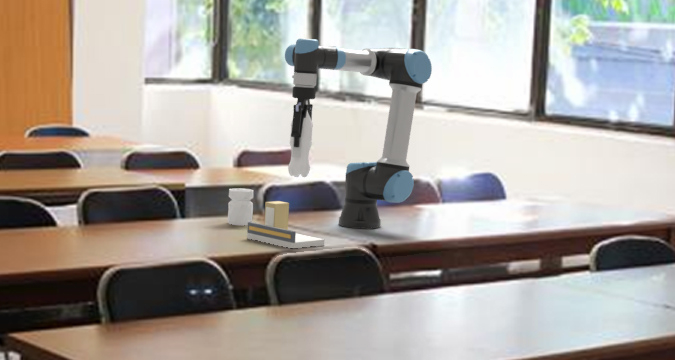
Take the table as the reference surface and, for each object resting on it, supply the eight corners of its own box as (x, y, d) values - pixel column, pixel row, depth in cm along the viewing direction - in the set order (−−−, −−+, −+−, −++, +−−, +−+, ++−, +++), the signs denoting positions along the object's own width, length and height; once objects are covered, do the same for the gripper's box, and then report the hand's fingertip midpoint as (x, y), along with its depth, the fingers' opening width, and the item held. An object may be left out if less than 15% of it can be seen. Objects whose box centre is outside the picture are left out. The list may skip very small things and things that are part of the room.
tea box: (277, 230, 430) (278, 201, 429) (287, 232, 427) (289, 203, 425) (263, 232, 426) (265, 202, 425) (273, 234, 422) (275, 204, 421)
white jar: (251, 226, 450) (252, 192, 449) (226, 224, 450) (227, 190, 449) (253, 222, 459) (254, 189, 458) (228, 221, 459) (230, 187, 458)
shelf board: (278, 235, 433) (279, 219, 432) (324, 245, 417) (325, 228, 417) (246, 238, 423) (247, 222, 422) (291, 249, 407) (292, 232, 407)
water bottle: (291, 177, 417) (296, 100, 415) (285, 174, 424) (289, 98, 422) (312, 177, 420) (317, 101, 417) (305, 175, 426) (310, 100, 424)
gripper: (302, 85, 429) (298, 153, 432) (284, 85, 410) (279, 157, 413) (324, 86, 428) (319, 155, 430) (306, 87, 408) (302, 159, 411)
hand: (300, 156), depth 421 cm, fingers closed on water bottle, 7 cm apart
